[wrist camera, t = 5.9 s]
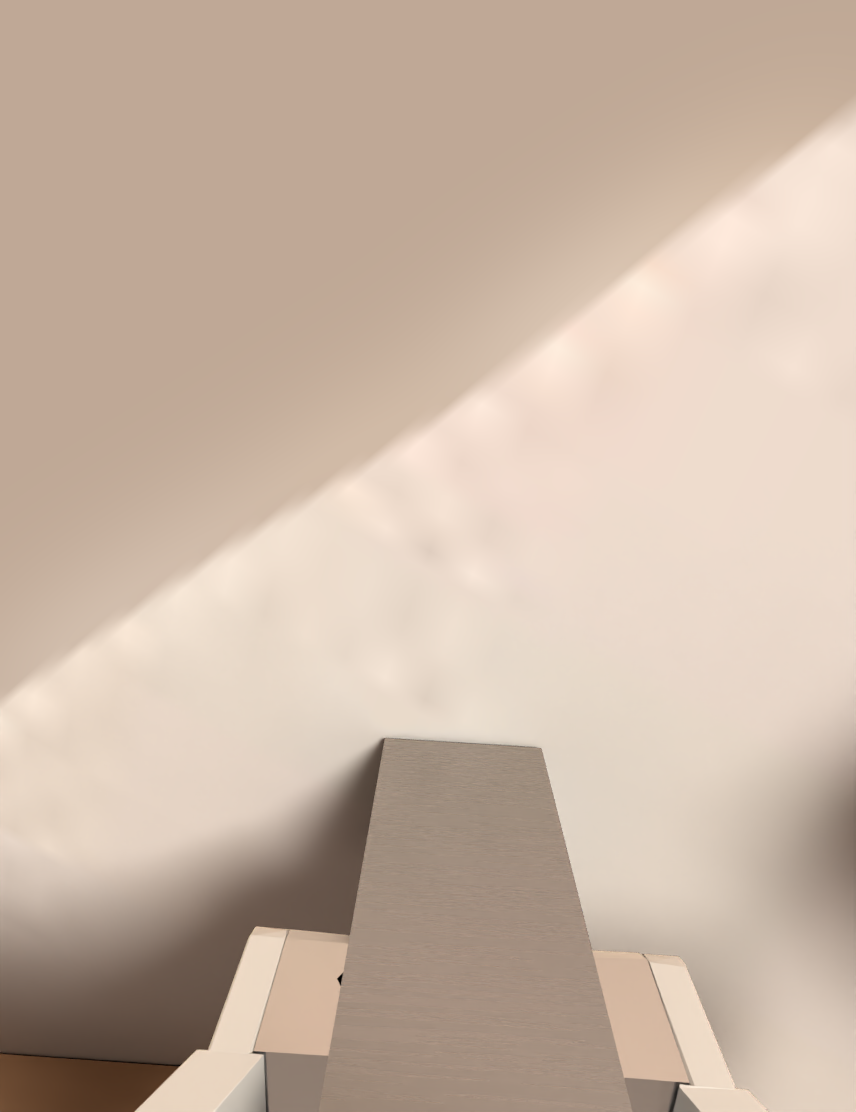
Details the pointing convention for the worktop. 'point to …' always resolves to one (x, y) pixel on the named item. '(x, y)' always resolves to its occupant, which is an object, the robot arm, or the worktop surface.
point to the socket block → (76, 1084)
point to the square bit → (469, 948)
